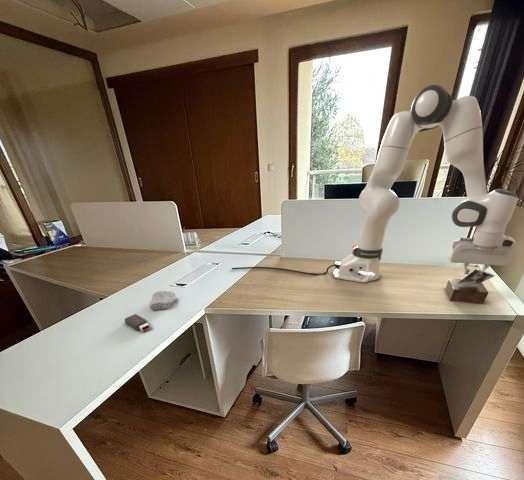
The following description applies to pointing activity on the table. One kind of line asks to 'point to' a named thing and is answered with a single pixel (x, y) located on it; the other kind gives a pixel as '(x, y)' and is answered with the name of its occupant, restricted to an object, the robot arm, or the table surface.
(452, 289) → the walnut block
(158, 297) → the stone block
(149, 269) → the table surface
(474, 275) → the paper boat
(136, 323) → the usb drive
